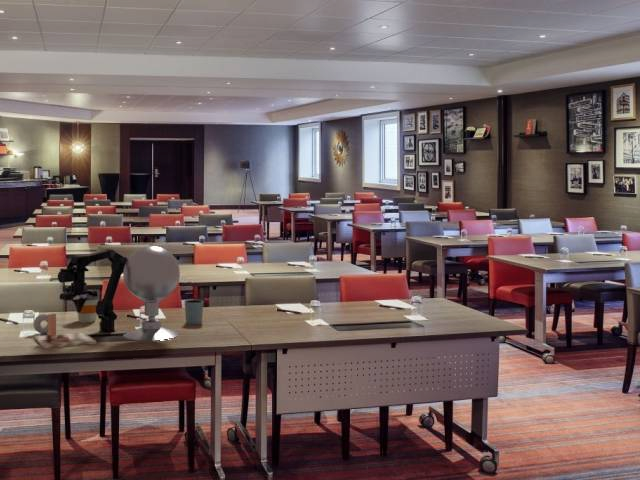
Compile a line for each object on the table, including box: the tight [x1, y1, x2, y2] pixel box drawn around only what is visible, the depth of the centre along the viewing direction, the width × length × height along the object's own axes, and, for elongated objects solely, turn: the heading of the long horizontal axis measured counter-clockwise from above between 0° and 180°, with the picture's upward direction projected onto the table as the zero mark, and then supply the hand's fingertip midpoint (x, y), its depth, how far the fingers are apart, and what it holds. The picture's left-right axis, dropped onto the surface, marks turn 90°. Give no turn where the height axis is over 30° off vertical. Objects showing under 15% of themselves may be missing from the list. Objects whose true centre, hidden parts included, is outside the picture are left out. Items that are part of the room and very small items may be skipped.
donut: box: [32, 313, 49, 335], centre depth 422 cm, size 10×3×10 cm, turn 114°
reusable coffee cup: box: [76, 292, 100, 324], centre depth 456 cm, size 13×13×15 cm
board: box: [33, 332, 97, 349], centre depth 407 cm, size 24×22×4 cm
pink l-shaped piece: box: [45, 313, 69, 342], centre depth 404 cm, size 12×6×11 cm, turn 52°
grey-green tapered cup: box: [184, 299, 204, 325], centre depth 458 cm, size 10×10×12 cm
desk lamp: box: [122, 245, 181, 342], centre depth 423 cm, size 28×28×45 cm
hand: (79, 312), depth 418 cm, fingers closed
